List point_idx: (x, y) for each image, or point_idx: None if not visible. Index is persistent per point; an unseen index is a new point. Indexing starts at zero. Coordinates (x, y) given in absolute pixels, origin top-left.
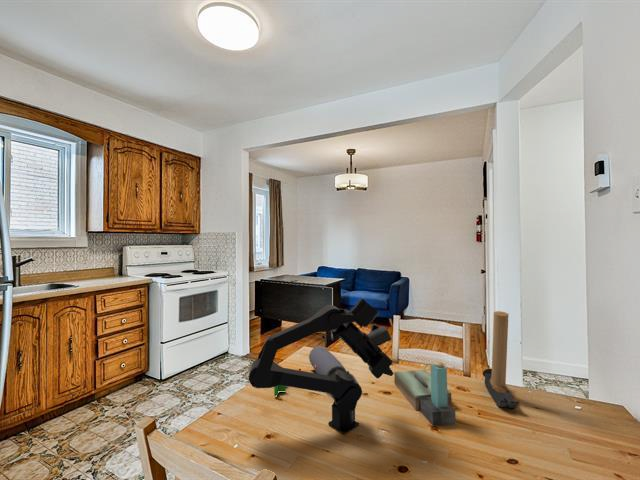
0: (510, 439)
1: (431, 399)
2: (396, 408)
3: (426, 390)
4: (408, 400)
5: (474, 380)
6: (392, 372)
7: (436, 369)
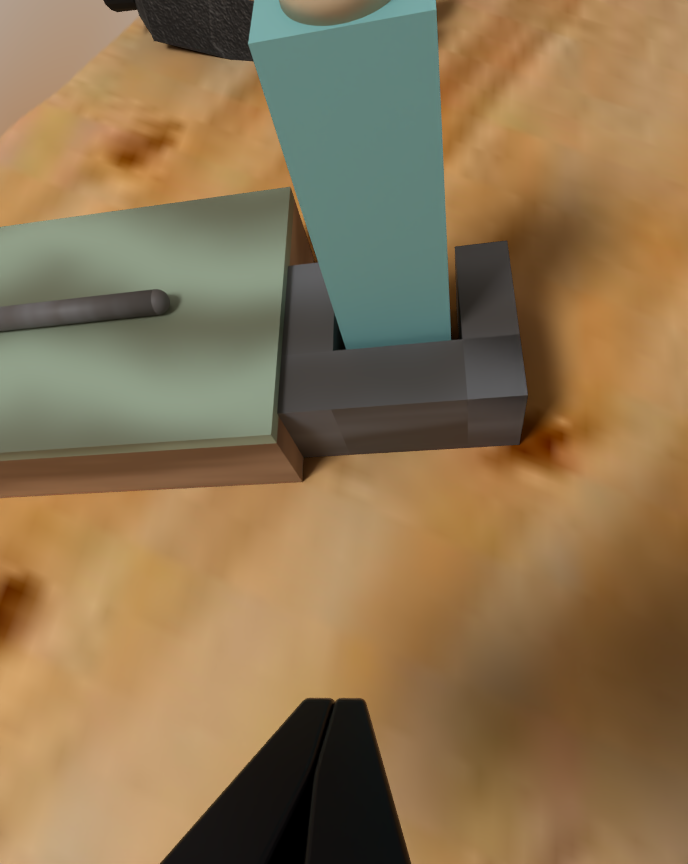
0: (652, 120)
1: (344, 336)
2: (245, 621)
3: (213, 324)
4: (174, 486)
5: (91, 72)
6: (370, 731)
7: (415, 32)
